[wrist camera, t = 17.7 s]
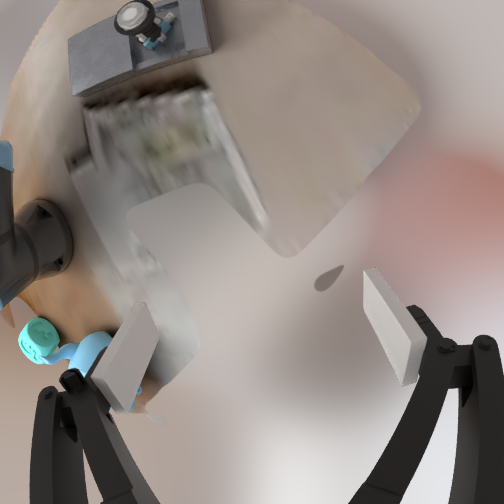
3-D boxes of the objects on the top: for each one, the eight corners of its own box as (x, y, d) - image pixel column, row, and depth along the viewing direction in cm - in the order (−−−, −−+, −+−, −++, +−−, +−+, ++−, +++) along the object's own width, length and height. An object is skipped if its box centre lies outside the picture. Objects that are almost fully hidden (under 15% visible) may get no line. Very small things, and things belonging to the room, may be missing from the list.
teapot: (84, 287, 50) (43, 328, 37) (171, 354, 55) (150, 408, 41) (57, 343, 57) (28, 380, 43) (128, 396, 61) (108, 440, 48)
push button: (162, 10, 30) (137, -16, 21) (188, 23, 31) (167, -4, 22) (134, 43, 32) (102, 24, 23) (159, 57, 33) (130, 38, 24)
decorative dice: (55, 349, 58) (40, 369, 50) (33, 329, 56) (16, 347, 49) (63, 333, 55) (46, 354, 48) (39, 311, 54) (20, 330, 46)
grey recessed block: (84, 97, 37) (72, 95, 33) (79, 43, 33) (67, 39, 29) (212, 53, 34) (208, 46, 31) (202, -4, 31) (197, -14, 27)
